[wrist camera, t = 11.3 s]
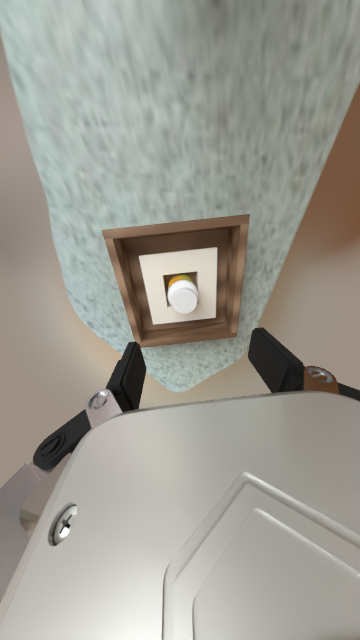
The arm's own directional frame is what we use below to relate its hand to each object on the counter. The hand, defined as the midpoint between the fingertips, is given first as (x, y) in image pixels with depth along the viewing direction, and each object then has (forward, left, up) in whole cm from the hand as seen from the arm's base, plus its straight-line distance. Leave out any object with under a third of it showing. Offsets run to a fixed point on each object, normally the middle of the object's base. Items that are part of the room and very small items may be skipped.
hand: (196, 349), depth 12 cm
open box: (0, 0, -22) cm, 22 cm away
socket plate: (0, 0, -22) cm, 22 cm away
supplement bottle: (0, 0, -21) cm, 21 cm away
